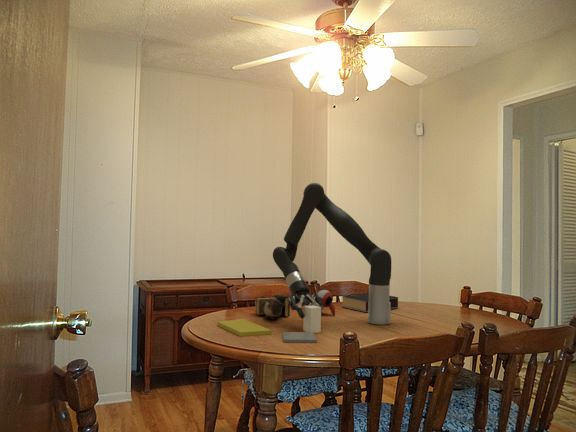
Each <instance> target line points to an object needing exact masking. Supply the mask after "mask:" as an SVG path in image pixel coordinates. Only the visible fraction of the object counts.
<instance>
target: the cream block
mask: <svg viewBox="0 0 576 432" xmlns="http://www.w3.org/2000/svg"><path fill="white" fill-rule="evenodd" d="M303 312H304V314H305V317H304V318H303V327H302V330H303V331H302V332H314V334H316V333H317V334H319V333H321V331H322V330H321V328H322V315H321V307H318V306H314V305H312V306H309V305H307V306H306V305H304V306H303Z"/></svg>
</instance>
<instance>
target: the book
mask: <svg viewBox="0 0 576 432" xmlns="http://www.w3.org/2000/svg"><path fill="white" fill-rule="evenodd" d="M389 302H390V303H391V310H394V309H398V308H399V297H398V296H394V295H389ZM368 303H369V293H361V294H351V295H349V294H347V295H342V303H341V304H342V305H341V307H342V308H345V309H349V310H355V311H359V312H363V313H368Z"/></svg>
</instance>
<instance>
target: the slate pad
mask: <svg viewBox="0 0 576 432" xmlns="http://www.w3.org/2000/svg"><path fill="white" fill-rule="evenodd" d="M282 337H283V343H300V344H301V343H304V344H305V343H307V344H309V343H314V344H317V341H318V339H317V337H316V335H315V333H314V332H305V331H300V332H299V331H282Z"/></svg>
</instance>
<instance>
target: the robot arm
mask: <svg viewBox="0 0 576 432" xmlns="http://www.w3.org/2000/svg"><path fill="white" fill-rule="evenodd" d="M315 209H316V211H318V212H319V213H320V214H321V215H322V216H323V217H324V218H325V220H326V221H327V222H328V223H329V224H330V225H331V226H332V228H333V229H334V230H335V232H337V233H338V235H340V236H341V237H342V238H343V239H344V240H346V242H348V243H349V244H350V245H352V247H354V249H356V250H358V252H360V254H361V255H362V256H363V257H364V259H365V260H366V261H367V263H368V264H369V265H370V274H369V278H368V294H369V303H368V312H367V314H368V315H367V323H369V324H372V325H380V326H381V325H390V324H391V312H392V311H391V310H392V309H391V303H390V302H389V296H390V284H391V283H390V281H391V278H392V256H391V254H390V252H389V251H387V250H386V249H383V248H381V247H379V246H378V245H376V244H375V242H373V240H371V239H370V238H369V236H368V235H367V234H366V233H365V230H363V228H362V227H361V226H360V225H359V223H358V222H357V221H356V220H355V219H354V218H353V217H352V216H351V215H350V214H349V213H347V212H346V211H345V210H343V209H342V208H341V207H339V206H338V205H336V204H335V203H334V202H333V201H332V200H331V199H330V198H329V197H328V195H326V193H325V189H324V187H323V186H322V185H321V184H320V183H318V182H311V183H310V184H308V185H306V186H305V187H304V190H303V197H302V199H301V203H300V206H299V208H298V210H297V211H296V214H295V216H294V217H293V219H292V221H291V223H290V224H289V226H288V228H287V231H286V233H285V234H284V237H283V241H284V242H285V243H286V245H285V246H286V247H282V246H277V247H275V248H274V249H273V252H272V259H273V261H274V263H275V265H277V268H278V269H279V270H281V272H282V274H283V277H284V279H285V282H286V285H287V287H288V289H289V291H290V293H291V294H290V295H289V298H288V301H289V304H290V309H291V311H296V312H297V314H298V316H299V318H300V319H304V317H305V314H304V309H303V308H302V307H304V306H312V305H314V304H315V305H316V306H318V307H321V306H322V302H321V300H320V298H319V297H318V295H317V293H316V292H315V293H314V294H311V293H310V288H309V286H308V285H307V282H306V281H305V278H304V276H303V275H302V273H301V272H300V269H299V268H298V265H297V264H296V263H295V262H294V261H295V259H296V256H297V251H298V246H299V243H300V241H301V239H302V237H303V235H304V232H305V230H306V228H307V226H308V223H309V221H310V219H311V216H312V214H313V213H314V212H315ZM311 301H312V304H311ZM296 302H297V303H296ZM318 302H319V303H318ZM315 305H314V306H315ZM322 315H323V310H322V311H321V316H322Z"/></svg>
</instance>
